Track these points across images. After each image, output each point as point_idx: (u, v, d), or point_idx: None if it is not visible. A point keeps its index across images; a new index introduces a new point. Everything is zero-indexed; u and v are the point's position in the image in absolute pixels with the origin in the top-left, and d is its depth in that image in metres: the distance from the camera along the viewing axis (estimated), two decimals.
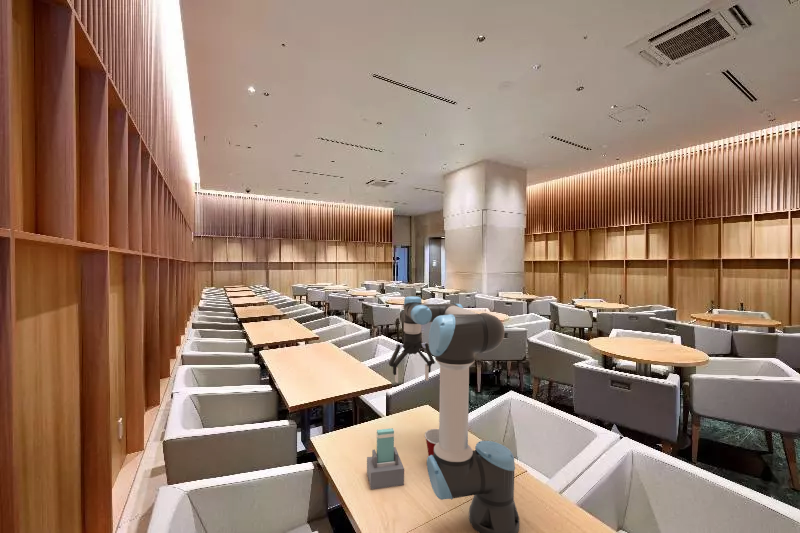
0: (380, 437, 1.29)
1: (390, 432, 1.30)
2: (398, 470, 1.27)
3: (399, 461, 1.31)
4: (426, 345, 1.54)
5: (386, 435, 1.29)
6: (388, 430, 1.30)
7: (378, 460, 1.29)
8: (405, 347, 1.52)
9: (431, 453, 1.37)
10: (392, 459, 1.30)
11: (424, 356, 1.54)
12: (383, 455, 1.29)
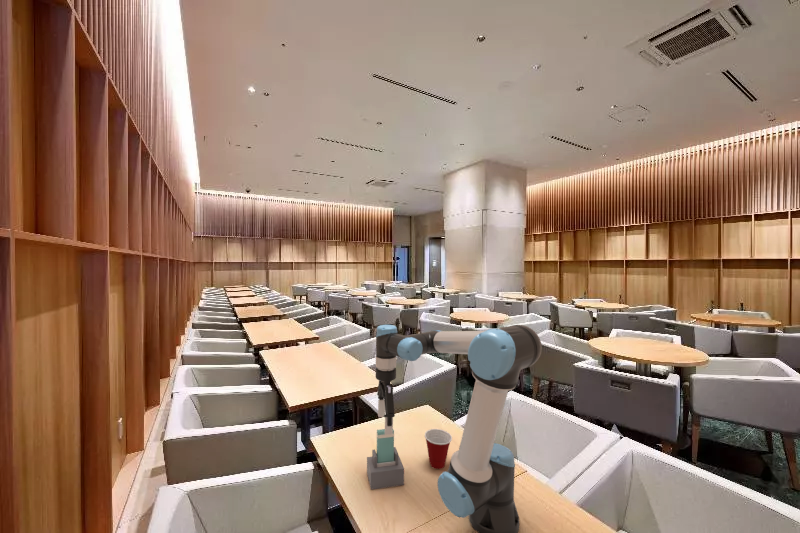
0: (380, 437, 1.29)
1: None
2: (398, 470, 1.27)
3: (399, 461, 1.31)
4: (385, 389, 1.24)
5: (386, 435, 1.29)
6: None
7: (378, 460, 1.29)
8: (381, 381, 1.33)
9: (431, 453, 1.37)
10: (392, 459, 1.30)
11: (385, 402, 1.25)
12: (383, 455, 1.29)
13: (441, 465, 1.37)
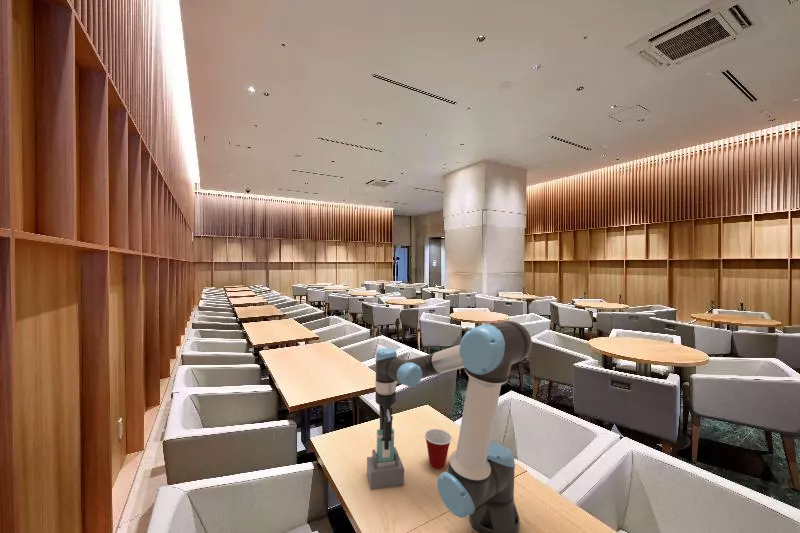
0: (380, 437, 1.29)
1: None
2: (398, 470, 1.27)
3: (399, 461, 1.31)
4: (385, 418, 1.24)
5: None
6: None
7: (378, 460, 1.29)
8: (381, 405, 1.33)
9: (431, 453, 1.37)
10: (392, 459, 1.30)
11: (383, 427, 1.28)
12: None
13: (441, 465, 1.37)
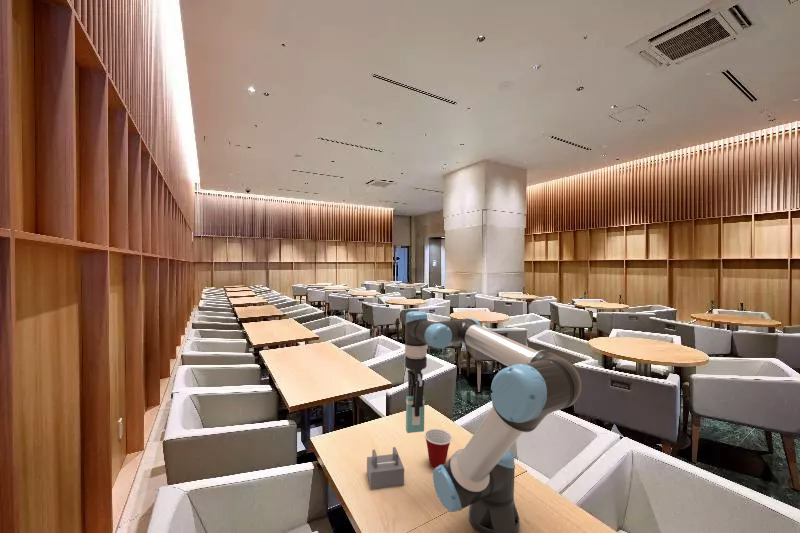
0: (410, 403, 1.23)
1: None
2: (398, 470, 1.27)
3: (399, 461, 1.31)
4: (416, 382, 1.18)
5: None
6: None
7: (408, 428, 1.23)
8: (410, 371, 1.27)
9: (431, 453, 1.37)
10: (422, 427, 1.24)
11: (414, 392, 1.22)
12: None
13: None
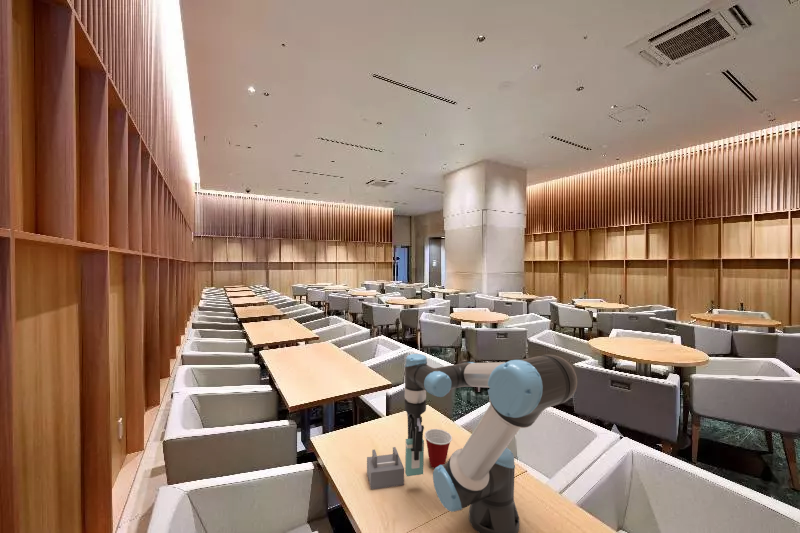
0: (409, 447, 1.23)
1: None
2: (398, 470, 1.27)
3: (399, 461, 1.31)
4: (416, 428, 1.19)
5: None
6: None
7: (407, 471, 1.23)
8: None
9: (431, 453, 1.37)
10: (422, 470, 1.24)
11: (413, 436, 1.22)
12: None
13: None
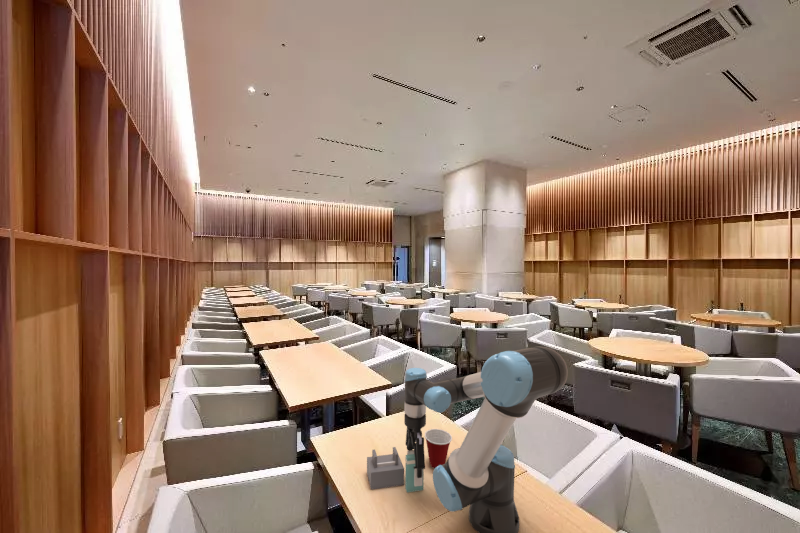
0: (409, 463, 1.23)
1: None
2: (398, 470, 1.27)
3: (399, 461, 1.31)
4: (416, 440, 1.18)
5: None
6: None
7: (407, 487, 1.23)
8: None
9: (431, 453, 1.37)
10: (422, 486, 1.24)
11: (414, 452, 1.20)
12: (412, 482, 1.24)
13: None
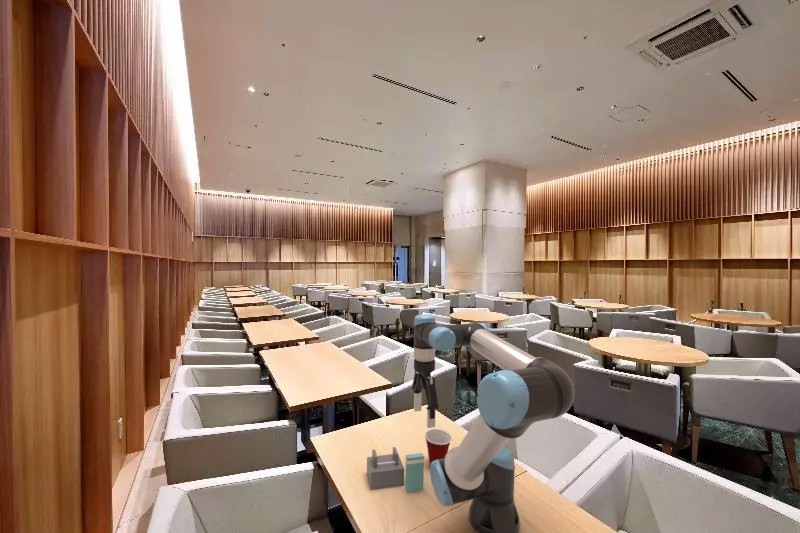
0: (409, 463, 1.23)
1: (420, 457, 1.24)
2: (398, 470, 1.27)
3: (399, 461, 1.31)
4: (427, 380, 1.19)
5: (416, 460, 1.24)
6: (417, 455, 1.25)
7: (407, 487, 1.23)
8: (418, 373, 1.29)
9: (431, 453, 1.37)
10: (422, 486, 1.24)
11: (426, 394, 1.20)
12: (412, 482, 1.24)
13: None
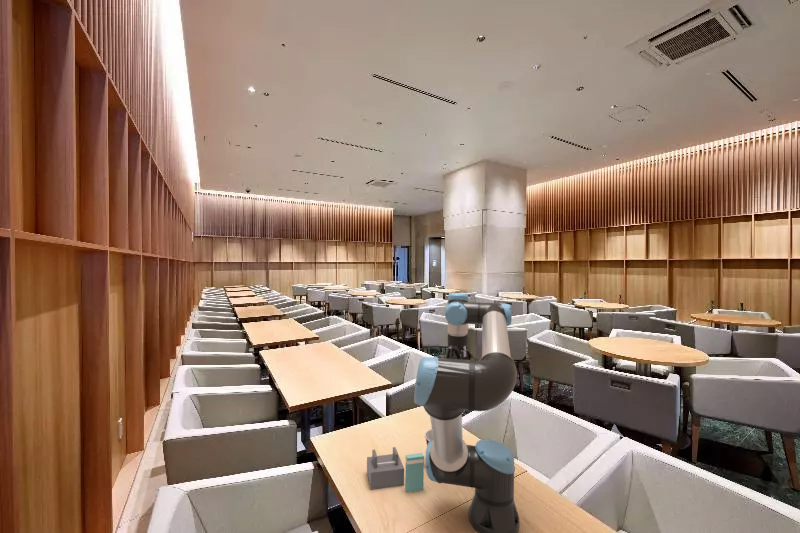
0: (409, 463, 1.23)
1: (420, 457, 1.24)
2: (398, 470, 1.27)
3: (399, 461, 1.31)
4: (461, 353, 1.28)
5: (416, 460, 1.24)
6: (417, 455, 1.25)
7: (407, 487, 1.23)
8: (451, 348, 1.37)
9: None
10: (422, 486, 1.24)
11: None
12: (412, 482, 1.24)
13: None
